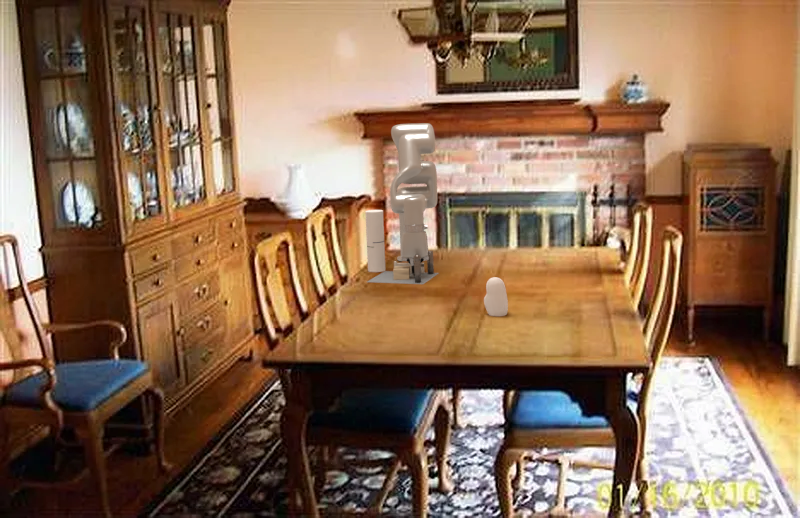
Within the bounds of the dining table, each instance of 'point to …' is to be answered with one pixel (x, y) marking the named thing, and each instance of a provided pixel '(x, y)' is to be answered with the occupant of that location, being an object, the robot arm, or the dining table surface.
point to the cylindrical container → (375, 240)
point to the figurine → (496, 297)
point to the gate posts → (418, 266)
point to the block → (401, 272)
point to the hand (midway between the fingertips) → (415, 275)
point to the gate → (409, 265)
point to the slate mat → (389, 278)
